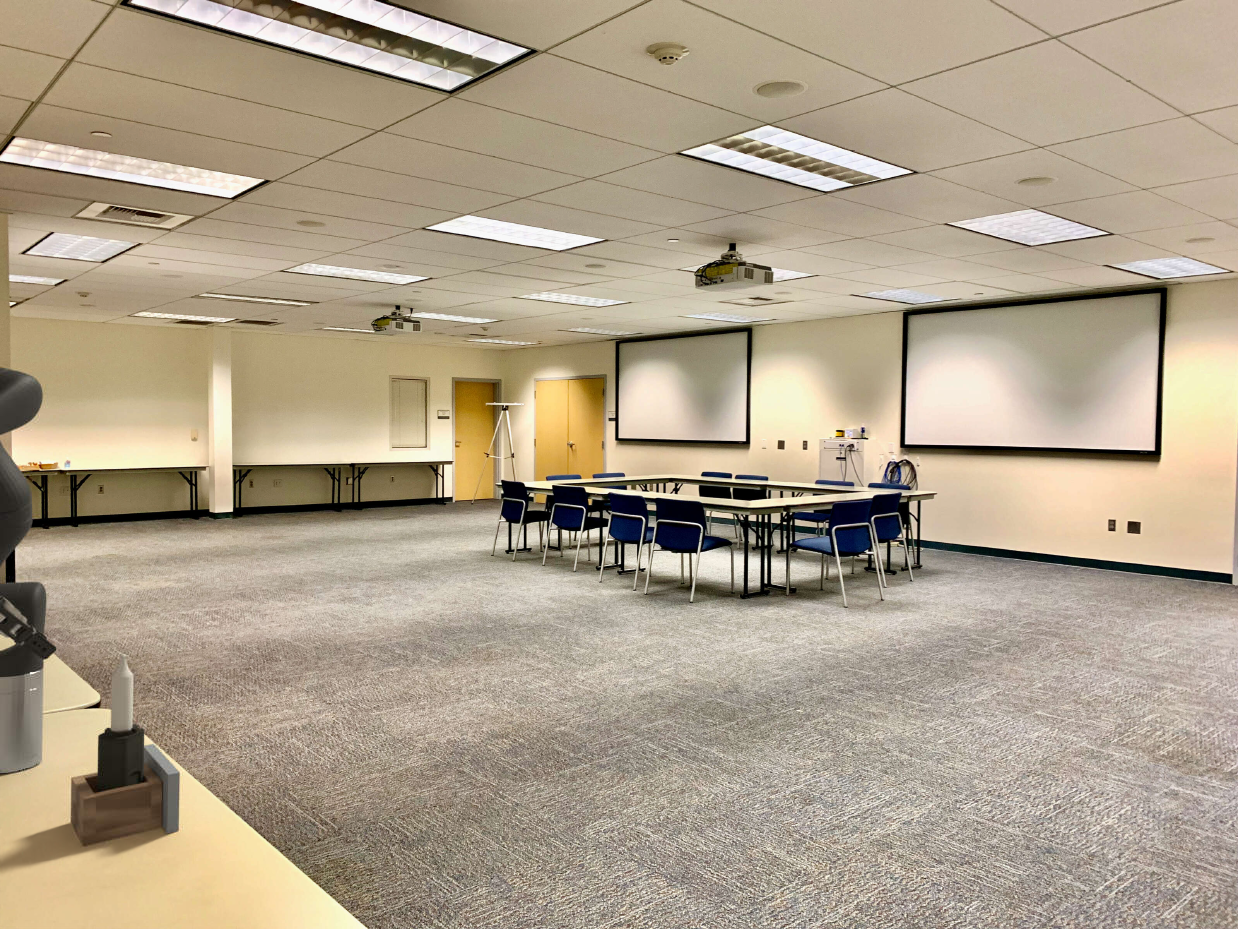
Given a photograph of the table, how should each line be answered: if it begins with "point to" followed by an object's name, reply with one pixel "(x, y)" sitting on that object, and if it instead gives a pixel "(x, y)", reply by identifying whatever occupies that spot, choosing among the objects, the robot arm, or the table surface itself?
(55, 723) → the table surface
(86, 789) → the socket block
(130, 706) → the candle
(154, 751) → the backstop wall
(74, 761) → the table surface
